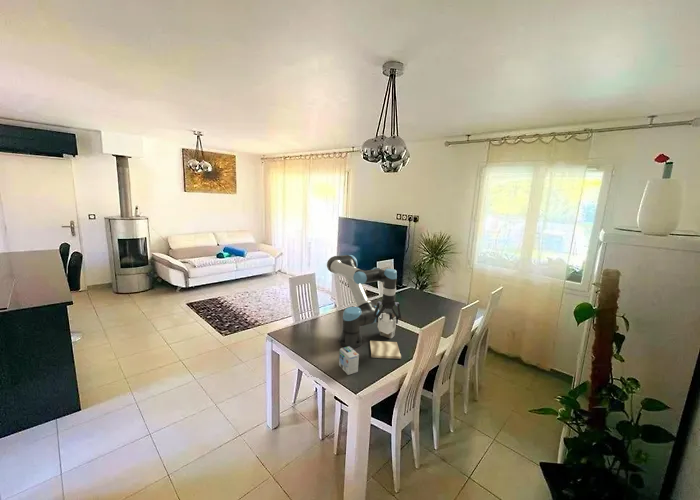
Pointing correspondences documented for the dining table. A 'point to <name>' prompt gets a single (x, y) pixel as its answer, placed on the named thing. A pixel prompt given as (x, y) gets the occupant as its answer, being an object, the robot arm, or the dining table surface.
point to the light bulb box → (348, 360)
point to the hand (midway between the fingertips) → (386, 327)
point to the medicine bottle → (386, 323)
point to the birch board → (384, 349)
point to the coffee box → (391, 332)
